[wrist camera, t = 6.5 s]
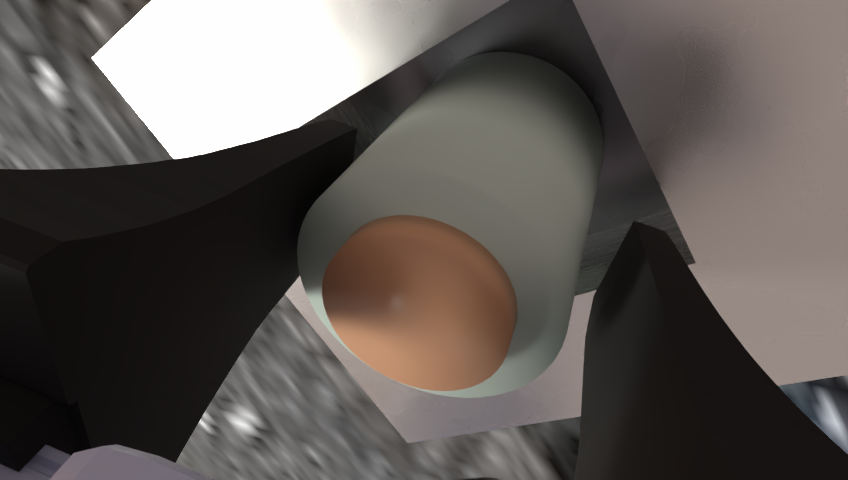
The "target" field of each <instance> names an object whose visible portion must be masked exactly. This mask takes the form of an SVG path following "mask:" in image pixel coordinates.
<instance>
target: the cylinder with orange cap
mask: <svg viewBox="0 0 848 480" xmlns="http://www.w3.org/2000/svg"><path fill="white" fill-rule="evenodd" d="M603 144H604V142H603V135H602V129H601V125H600V122H599V118H598V116H597V113H596V111H595V109H594V107H593V105H592V103H591V102H590V100H589V98H588V97H587V95H586V94H585V93H584V91H583V90H582V89H581V88H580V87H579V85H578V84H577V83H576V82H575V81H574V80H572V79H571V78H570V77H569V76H568V75H567V74H566V73H564V72H563V71H561V70H560V69H558V68H557V67H555V66H553V65H552V64H550V63H548V62H546V61H544V60H541V59H538V58H535V57H533V56H530V55H525V54H520V53H515V52H488V53H484V54H479V55H475V56H472V57H469V58H466V59H463V60H462V61H460V62H458V63H456V64H454V65H452V66H451V67H449V68H448V69H447V70H445V71H444V72H443V73H442V74H440V75H439V76H438V77H437V78H436V79H435V80H434V81H433V82H432V83H431V84H430V85H429V86H428V87H427V88H426V89H425V90H424V91H423V92H422V93H421V94H420V95H419V97H418V98H417V99H416V100H415V101H414V102H413V103H412V104H411V105H410V106H409V107H408V108H407V109H406V110H405V111H404V112H403V113H402V114H401V115H400V116H399V117H398V118H397V119H396V120H395V121H394V122H393V123H392V124H391V125H390V126H389V127H388V128H387V129H386V130H385V131H384V132H383V133H382V134H381V135H380V136H379V137H378V138H377V139H376V140H375V141H374V142H373V143H372V144H371V145H370V146H369V147H368V148H367V149H366V150H365V151H364V152H363V153H362V154H361V155H360V156H359V157H358V158H357V159H356V160H355V161H354V162H353V163H352V164H351V165H350V166H349V167H348V168H347V169H346V170H345V171H344V172H343V173H342V174H341V175H340V176H339V178H338V179H337V180H336V181H335V182H334V183H333V184H332V185H331V186H330V187H329V188H328V189H327V190H326V191H325V192H324V193H323V194H322V195H321V196H320V197H319V198H318V199H317V200H316V201H315V202H314V204H313V205H312V207H311V208H310V209H309V211H308V212H307V214H306V217H305V219H304V221H303V223H302V226H301V230H300V233H299V237H298V246H297V258H298V268H299V273H300V278H301V281H302V284H303V287H304V290H305V293H306V295H307V297H308V299H309V301H310V303H311V305H312V307H313V309H314V310H315V312H316V314H317V315H318V317H319V318H320V320H321V321H322V322H323V324H324V325H325V326H326V328H327V329H328V330H329V331H330V332H331V334H332V335H333V336H334V337H335V338H336V339H337V340H338V341H339V342H340V343H341V344H342V345H343V346H344V347H345V348H346V349H347V350H348V351H349V352H351V353H352V354H353V355H354V356H356V357H357V358H358V359H360V360H361V361H362V362H364V363H365V364H367V365H368V366H370V367H371V368H373V369H374V370H376V371H378V372H379V373H381V374H383V375H385V376H387V377H389V378H390V379H393V380H395V381H397V382H399V383H402V384H404V385H406V386H409V387H412V388H415V389H418V390H421V391H425V392H429V393H433V394H437V395H443V396H449V397H462V398H475V397H487V396H494V395H499V394H503V393H506V392H510V391H513V390H515V389H517V388H520V387H522V386H524V385H526V384H528V383H529V382H531V381H533V380H534V379H536V378H537V377H538V376H539V375H541V374H542V373H543V372H544V371H545V370H547V368H548V367H549V366H550V365H551V364H552V362H553V361H554V360H555V359H556V357H557V355H558V353H559V352H560V350H561V348H562V346H563V343H564V340H565V337H566V334H567V330H568V325H569V321H570V316H571V311H572V306H573V301H574V296H575V292H576V287H577V282H578V277H579V272H580V267H581V263H582V258H583V253H584V248H585V243H586V238H587V234H588V229H589V224H590V219H591V214H592V210H593V205H594V200H595V195H596V190H597V185H598V181H599V176H600V171H601V166H602V160H603Z"/></svg>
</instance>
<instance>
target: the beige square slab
mask: <svg viewBox="0 0 848 480" xmlns="http://www.w3.org/2000/svg"><path fill="white" fill-rule="evenodd" d="M488 52H515V53H520V54H525V55H530V56H533V57H535V58H538V59H541V60H544V61H546V62H548V63H550V64H552V65H553V66H555V67H557V68H558V69H560V70H561V71H563V72H564V73H566V74H567V75H568V76H569V77H570V78H571V79H572V80H574V81H575V82H576V83H577V84H578V85H579V87H580V88H581V89H582V90H583V91H584V93H585V94H586V95H587V97H588V98H589V100H590V102H591V103H592V105H593V107H594V109H595V111H596V113H597V116H598V118H599V122H600V125H601V129H602V135H603V142H604V144H603V160H602V166H601V171H600V176H599V181H598V185H597V190H596V195H595V200H594V205H593V210H592V214H591V219H590V224H589V229H588V234H587V238H586V243H585V248H584V253H583V258H582V263H581V267H580V272H579V277H578V282H577V287H576V292H575V296H574V301H573V306H572V311H571V316H570V321H569V325H568V330H567V334H566V337H565V340H564V343H563V346H562V348H561V350H560V352H559V353H558V355H557V357H556V359H555V360H554V361H553V362H552V364H551V365H550V366H549V367H548V368H547V370H545V371H544V372H543V373H542V374H541V375H539V376H538V377H537V378H536V379H534V380H533V381H531V382H529V383H528V384H526V385H524V386H522V387H520V388H517V389H515V390H513V391H510V392H506V393H503V394H499V395H494V396H487V397H475V398H462V397H449V396H443V395H437V394H433V393H429V392H425V391H421V390H418V389H415V388H412V387H409V386H406V385H404V384H402V383H399V382H397V381H395V380H393V379H390V378H389V377H387V376H385V375H383V374H381V373H379V372H378V371H376V370H374V369H373V368H371V367H370V366H368V365H367V364H365V363H364V362H362V361H361V360H360V359H358V358H357V357H356V356H354V355H353V354H352V353H351V352H349V351H348V350H347V349H346V348H345V347H344V346H343V345H342V344H341V343H340V342H339V341H338V340H337V339H336V338H335V337H334V336H333V335H332V334H331V332H330V331H329V330H328V329H327V328H326V326H325V325H324V324H323V322H322V321H321V320H320V318H319V317H318V315H317V314H316V312H315V310H314V309H313V307H312V305H311V303H310V301H309V299H308V297H307V295H306V293H305V290H304V287H303V284H302V281H301V278H300V276H299V277H298V279H297V280H296V281H295V282H294V283H293V285H292V286H291V287H290V288H289V289H288V291H287V292H286V293H285V294H286V296H287V297H288V298H289V299H290V300H291V302H292V303H293V304H294V305H295V307H296V308H297V309H298V310H299V311H300V313H301V314H302V315H303V316H304V318H305V319H306V320H307V321H308V322H309V324H310V325H311V326H312V327H313V328H314V330H315V331H316V332H317V333H318V335H319V336H320V337H321V338H322V339H323V341H324V342H325V343H326V344H327V346H328V347H329V348H330V349H331V350H332V352H333V353H334V354H335V355H336V357H337V358H338V359H339V360H340V361H341V363H342V364H343V365H344V366H345V367H346V369H347V370H348V371H349V372H350V374H351V375H352V376H353V377H354V378H355V380H356V381H357V382H358V383H359V385H360V386H361V387H362V388H363V389H364V391H365V392H366V393H367V394H368V396H369V397H370V398H371V399H372V400H373V402H374V403H375V404H376V405H377V407H378V408H379V409H380V410H381V411H382V413H383V414H384V415H385V416H386V417H387V419H388V420H389V421H390V422H391V424H392V425H393V426H394V427H395V428H396V430H397V431H398V432H399V433H400V435H401V436H402V437H403V438H404V439H405V441H406V442H407V443H412V442H418V441H424V440H431V439H437V438H444V437H450V436H457V435H463V434H470V433H476V432H482V431H489V430H495V429H502V428H508V427H515V426H521V425H527V424H534V423H540V422H547V421H553V420H560V419H566V418H573V417H579V416H581V404H582V384H583V365H584V347H585V336H586V331H587V325H588V320H589V315H590V310H591V306H592V301H593V296H594V294H595V292H596V291H597V289H598V287H599V285H600V283H601V281H602V279H603V277H604V276H605V274H606V272H607V270H608V268H609V266H610V264H611V262H612V261H613V259H614V257H615V255H616V253H617V251H618V249H619V247H620V246H621V244H622V242H623V240H624V238H625V236H626V234H627V232H628V231H629V229H630V227H631V225H632V223H633V221H637V222H640V223H643V224H646V225H649V226H652V227H655V228H657V229H660V230H663V231H666V233H667V234H668V235H669V237H670V238H671V240H672V241H673V243H674V244H675V246H676V248H677V249H678V251H679V252H680V254H681V256H682V257H683V259H684V261H685V262H686V264H687V265H688V267H689V269H690V270H691V272H692V273H693V275H694V277H695V278H696V280H697V281H698V283H699V284H700V286H701V288H702V289H703V291H704V292H705V294H706V295H707V297H708V298H709V300H710V301H711V303H712V304H713V306H714V307H715V308H716V310H717V311H718V313H719V314H720V316H721V317H722V318H723V320H724V321H725V323H726V324H727V325H728V327H729V328H730V329H731V331H732V332H733V333H734V335H735V336H736V337H737V339H738V340H739V341H740V342H741V344H742V345H743V346H744V348H745V349H746V350H747V351H748V353H749V354H750V355H751V356H752V357H753V359H754V360H755V361H756V362H757V363H758V364H759V366H760V367H761V368H762V369H763V370H764V371H765V372H766V374H767V375H768V376H769V377H770V378H771V379H772V380H773V381H774V383H775V384H776V385H777V386H779V385H785V384H792V383H798V382H805V381H811V380H817V379H824V378H830V377H837V376H843V375H848V0H152V1H151V2H150V3H149V4H147V5H146V6H145V7H144V8H143V9H142V10H141V11H140V12H139V13H138V14H137V15H136V16H135V17H134V18H133V19H132V20H131V21H130V22H129V23H128V24H127V25H126V26H125V27H124V28H122V29H121V30H120V31H119V32H118V33H117V34H116V35H115V36H114V37H113V38H112V39H111V40H110V41H109V42H108V43H107V44H106V45H105V46H104V47H103V48H102V49H101V50H100V51H99V52H97V53H96V54H95V55H94V56H93V57H92V59H93V60H94V61H95V63H96V64H97V65H98V66H99V68H100V69H101V70H102V71H103V72H104V74H105V75H106V76H107V77H108V79H109V80H110V81H111V82H112V83H113V85H114V86H115V87H116V88H117V90H118V91H119V92H120V93H121V94H122V96H123V97H124V98H125V99H126V100H127V102H128V103H129V104H130V105H131V107H132V108H133V109H134V110H135V111H136V113H137V114H138V115H139V116H140V118H141V119H142V120H143V121H144V122H145V124H146V125H147V126H148V127H149V129H150V130H151V131H152V132H153V133H154V135H155V136H156V137H157V138H158V140H159V141H160V142H161V143H162V144H163V146H164V147H165V148H166V149H167V150H168V152H169V153H170V154H171V155H172V157H173V158H174V159H178V158H184V157H189V156H194V155H199V154H204V153H209V152H213V151H217V150H221V149H225V148H228V147H232V146H236V145H240V144H244V143H248V142H252V141H256V140H259V139H262V138H265V137H269V136H272V135H275V134H279V133H282V132H285V131H289V130H292V129H295V128H298V127H302V126H305V125H308V124H312V123H315V122H319V121H323V120H329V119H332V120H335V121H338V122H341V123H344V124H347V125H350V126H352V127H355V128H358V130H357V137H356V144H355V152H354V159H353V162H354V161H355V160H356V159H357V158H358V157H359V156H360V155H361V154H362V153H363V152H364V151H365V150H366V149H367V148H368V147H369V146H370V145H371V144H372V143H373V142H374V141H375V140H376V139H377V138H378V137H379V136H380V135H381V134H382V133H383V132H384V131H385V130H386V129H387V128H388V127H389V126H390V125H391V124H392V123H393V122H394V121H395V120H396V119H397V118H398V117H399V116H400V115H401V114H402V113H403V112H404V111H405V110H406V109H407V108H408V107H409V106H410V105H411V104H412V103H413V102H414V101H415V100H416V99H417V98H418V97H419V95H420V94H421V93H422V92H423V91H424V90H425V89H426V88H427V87H428V86H429V85H430V84H431V83H432V82H433V81H434V80H435V79H436V78H437V77H438V76H439V75H440V74H442V73H443V72H444V71H445V70H447V69H448V68H449V67H451V66H452V65H454V64H456V63H458V62H460V61H462V60H463V59H466V58H469V57H472V56H475V55H479V54H484V53H488Z"/></svg>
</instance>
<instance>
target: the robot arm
mask: <svg viewBox="0 0 848 480" xmlns="http://www.w3.org/2000/svg"><path fill="white" fill-rule="evenodd" d="M357 130H358V128H355V127H352V126H350V125H347V124H344V123H341V122H338V121H335V120H332V119H329V120H323V121H319V122H315V123H312V124H308V125H305V126H302V127H298V128H295V129H292V130H289V131H285V132H282V133H279V134H275V135H272V136H269V137H265V138H262V139H259V140H256V141H252V142H248V143H244V144H240V145H236V146H232V147H228V148H225V149H221V150H217V151H213V152H209V153H204V154H199V155H194V156H189V157H184V158H178V159H172V160H165V161H159V162H152V163H144V164H133V165H122V166H111V167H99V168H85V169H54V170H14V169H0V480H214V479H211V478H209V477H207V476H204V475H202V474H200V473H197V472H195V471H193V470H190V469H188V468H186V467H183V466H181V465H179V464H176V463H175V462H176V461H177V459H178V457H179V455H180V453H181V452H182V450H183V448H184V446H185V445H186V443H187V441H188V440H189V438H190V436H191V434H192V433H193V431H194V429H195V428H196V426H197V424H198V422H199V421H200V419H201V417H202V415H203V414H204V412H205V410H206V409H207V407H208V405H209V404H210V402H211V400H212V399H213V397H214V396H215V394H216V392H217V391H218V389H219V387H220V386H221V384H222V383H223V381H224V379H225V378H226V376H227V374H228V373H229V371H230V370H231V368H232V366H233V365H234V363H235V362H236V360H237V359H238V357H239V356H240V354H241V353H242V351H243V349H244V348H245V346H246V345H247V343H248V342H249V340H250V339H251V337H252V336H253V334H254V333H255V331H256V330H257V328H258V327H259V326H260V324H261V323H262V322H263V320H264V319H265V318H266V316H267V315H268V314H269V312H270V311H271V310H272V309H273V308H274V306H275V305H276V304H277V303H278V302H279V300H280V299H281V298H282V297H283V296H284V294H285V293H286V292H287V291H288V289H289V288H290V287H291V286H292V285H293V283H294V282H295V281H296V280H297V279H298V277H299V276H300V273H299V268H298V258H297V246H298V237H299V233H300V230H301V226H302V223H303V221H304V219H305V217H306V214H307V212H308V211H309V209H310V208H311V207H312V205H313V204H314V202H315V201H316V200H317V199H318V198H319V197H320V196H321V195H322V194H323V193H324V192H325V191H326V190H327V189H328V188H329V187H330V186H331V185H332V184H333V183H334V182H335V181H336V180H337V179H338V178H339V176H340V175H341V174H342V173H343V172H344V171H345V170H346V169H347V168H348V167H349V166H350V165H351V164H352V163H353V159H354V152H355V144H356V137H357ZM574 480H848V454H846V453H845V452H844V451H843V450H842V449H841V448H840V447H839V446H837V445H836V444H835V443H834V442H833V441H832V440H831V439H830V438H829V437H828V436H827V435H826V434H825V433H824V432H823V431H822V430H821V429H820V428H819V427H818V426H816V425H815V424H814V423H813V422H812V421H811V420H810V419H809V418H808V417H807V416H806V415H805V414H804V413H803V412H802V411H801V410H800V409H799V408H798V407H797V406H796V405H795V404H794V403H793V402H792V401H791V400H790V399H789V398H788V397H787V396H786V395H785V394H784V393H783V391H782V390H781V389H780V388H779V387H778V386H777V385H776V384H775V383H774V381H773V380H772V379H771V378H770V377H769V376H768V375H767V374H766V372H765V371H764V370H763V369H762V368H761V367H760V366H759V364H758V363H757V362H756V361H755V360H754V359H753V357H752V356H751V355H750V354H749V353H748V351H747V350H746V349H745V348H744V346H743V345H742V344H741V342H740V341H739V340H738V339H737V337H736V336H735V335H734V333H733V332H732V331H731V329H730V328H729V327H728V325H727V324H726V323H725V321H724V320H723V318H722V317H721V316H720V314H719V313H718V311H717V310H716V308H715V307H714V306H713V304H712V303H711V301H710V300H709V298H708V297H707V295H706V294H705V292H704V291H703V289H702V288H701V286H700V284H699V283H698V281H697V280H696V278H695V277H694V275H693V273H692V272H691V270H690V269H689V267H688V265H687V264H686V262H685V261H684V259H683V257H682V256H681V254H680V252H679V251H678V249H677V248H676V246H675V244H674V243H673V241H672V240H671V238H670V237H669V235H668V234H667V233H666V231H663V230H660V229H657V228H655V227H652V226H649V225H646V224H643V223H640V222H637V221H633V223H632V225H631V227H630V229H629V231H628V232H627V234H626V236H625V238H624V240H623V242H622V244H621V246H620V247H619V249H618V251H617V253H616V255H615V257H614V259H613V261H612V262H611V264H610V266H609V268H608V270H607V272H606V274H605V276H604V277H603V279H602V281H601V283H600V285H599V287H598V289H597V291H596V292H595V294H594V296H593V301H592V306H591V310H590V315H589V320H588V325H587V331H586V336H585V347H584V365H583V384H582V404H581V424H580V439H579V449H578V458H577V464H576V470H575V476H574Z"/></svg>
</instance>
